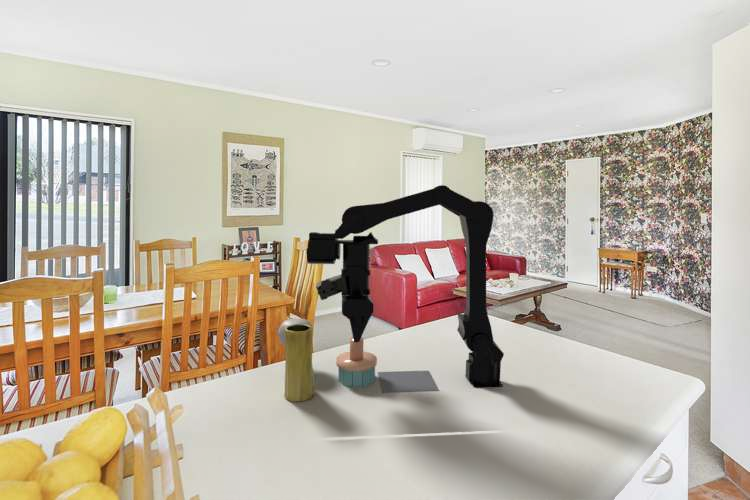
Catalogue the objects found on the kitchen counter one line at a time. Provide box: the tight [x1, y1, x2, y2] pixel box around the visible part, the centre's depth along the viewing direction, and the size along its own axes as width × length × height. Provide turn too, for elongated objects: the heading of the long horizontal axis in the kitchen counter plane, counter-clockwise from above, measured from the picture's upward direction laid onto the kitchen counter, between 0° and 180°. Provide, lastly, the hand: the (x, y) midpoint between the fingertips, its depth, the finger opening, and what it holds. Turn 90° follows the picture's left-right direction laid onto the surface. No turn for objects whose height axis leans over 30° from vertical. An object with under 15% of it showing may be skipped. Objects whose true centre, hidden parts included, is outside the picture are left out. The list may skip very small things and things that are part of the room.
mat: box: [377, 370, 440, 394], centre depth 89 cm, size 12×10×1 cm
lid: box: [335, 336, 378, 371], centre depth 89 cm, size 9×9×6 cm
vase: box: [283, 324, 315, 402], centre depth 82 cm, size 6×6×14 cm
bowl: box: [338, 366, 376, 388], centre depth 89 cm, size 8×8×4 cm
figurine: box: [277, 317, 314, 347], centre depth 95 cm, size 8×8×12 cm
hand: (355, 334), depth 88 cm, fingers open, 9 cm apart
